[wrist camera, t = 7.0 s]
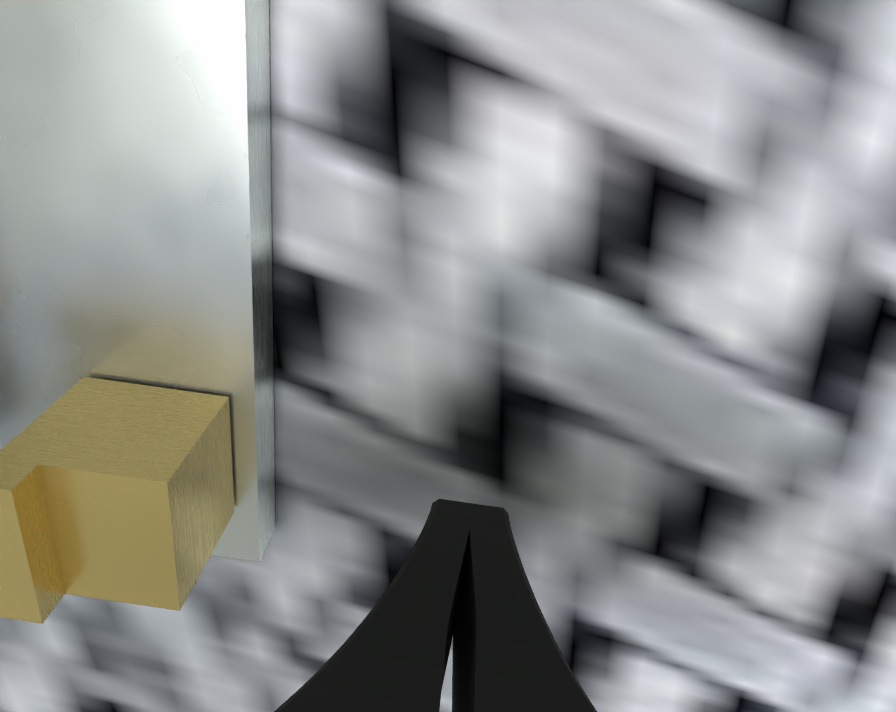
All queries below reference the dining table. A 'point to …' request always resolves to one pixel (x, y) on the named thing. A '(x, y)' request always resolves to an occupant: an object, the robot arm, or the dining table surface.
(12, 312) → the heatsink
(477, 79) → the dining table surface
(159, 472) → the block
